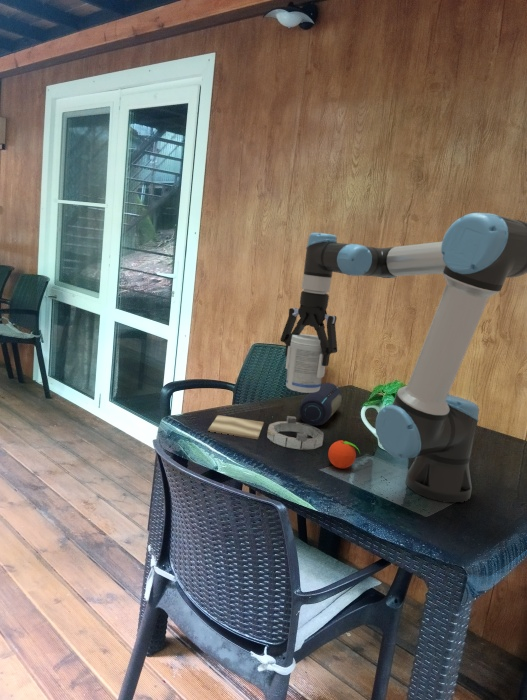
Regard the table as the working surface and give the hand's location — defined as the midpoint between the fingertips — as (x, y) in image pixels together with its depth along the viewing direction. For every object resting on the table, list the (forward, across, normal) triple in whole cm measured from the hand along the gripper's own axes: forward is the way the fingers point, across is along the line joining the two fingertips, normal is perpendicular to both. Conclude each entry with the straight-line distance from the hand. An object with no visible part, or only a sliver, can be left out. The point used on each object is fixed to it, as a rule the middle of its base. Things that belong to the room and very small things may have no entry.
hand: (304, 372), depth 157 cm
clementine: (+20, -19, +7) cm, 28 cm away
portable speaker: (+20, +7, -24) cm, 32 cm away
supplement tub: (+5, 0, 0) cm, 5 cm away
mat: (+19, +16, +7) cm, 26 cm away
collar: (+19, 0, 0) cm, 19 cm away
